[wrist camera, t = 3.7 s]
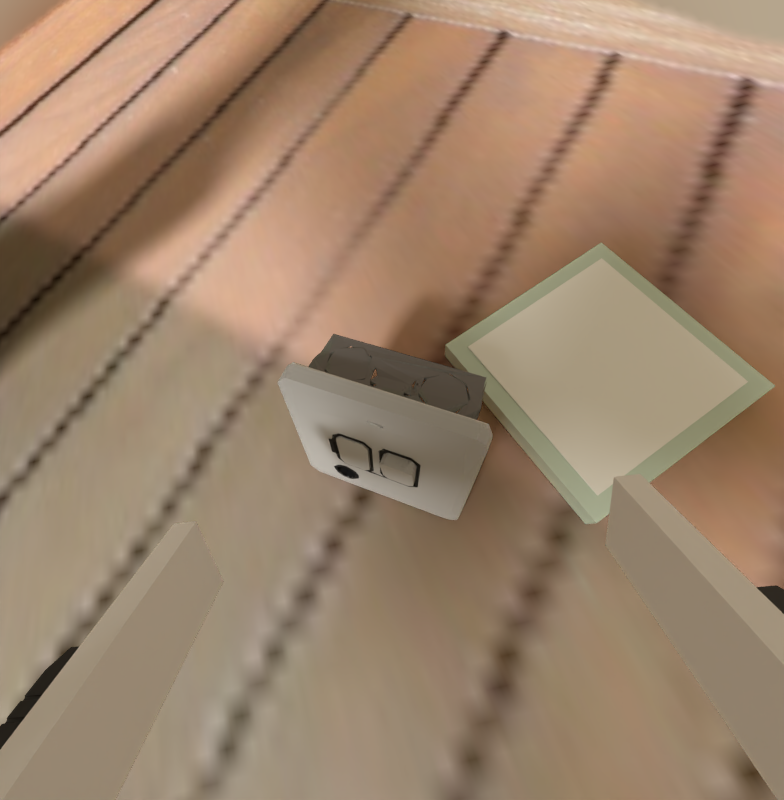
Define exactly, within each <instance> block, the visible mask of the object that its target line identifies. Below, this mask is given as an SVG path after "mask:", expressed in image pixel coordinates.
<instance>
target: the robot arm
mask: <svg viewBox="0 0 784 800" xmlns="http://www.w3.org/2000/svg"><path fill="white" fill-rule="evenodd" d="M605 545H606V547H607V548H608V550H609V551H610V553H611V554H612V556H613V557H614V559H615V560H616V562H617V563H618V565H619V566H620V568H621V569H622V571H623V572H624V574H625V575H626V577H627V578H628V580H629V581H630V582H631V584H632V585H633V587H634V588H635V590H636V591H637V593H638V594H639V596H640V597H641V599H642V600H643V602H644V603H645V605H646V606H647V608H648V609H649V611H650V612H651V614H652V615H653V617H654V618H655V619H656V621H657V622H658V624H659V625H660V627H661V628H662V630H663V631H664V633H665V634H666V636H667V637H668V639H669V640H670V642H671V643H672V645H673V646H674V648H675V649H676V651H677V652H678V654H679V655H680V656H681V658H682V659H683V661H684V662H685V664H686V665H687V667H688V668H689V670H690V671H691V673H692V674H693V676H694V677H695V679H696V680H697V682H698V683H699V685H700V686H701V688H702V689H703V691H704V692H705V693H706V695H707V696H708V698H709V699H710V701H711V702H712V704H713V705H714V707H715V708H716V710H717V711H718V713H719V714H720V716H721V717H722V719H723V720H724V722H725V723H726V725H727V726H728V728H729V729H730V730H731V732H732V733H733V735H734V736H735V738H736V739H737V741H738V742H739V744H740V745H741V747H742V748H743V750H744V751H745V753H746V754H747V756H748V757H749V759H750V760H751V762H752V763H753V765H754V766H755V767H756V769H757V770H758V772H759V773H760V775H761V776H762V778H763V779H764V781H765V782H766V784H767V785H768V787H769V788H770V790H771V791H772V793H773V794H774V796H775V797H776V799H777V800H784V590H783V589H782V588H780V587H778V586H766V587H755V586H754V585H753V584H752V583H751V582H750V581H749V580H748V579H747V578H746V577H745V576H744V575H743V574H742V573H741V572H740V571H739V570H738V569H737V568H736V567H735V566H734V565H733V564H732V563H731V562H730V561H729V560H728V559H727V558H726V557H725V556H724V555H723V554H722V553H721V552H720V551H719V550H718V549H717V548H716V547H714V546H713V545H712V544H711V543H710V542H709V541H708V540H707V539H706V538H705V537H704V536H703V535H702V534H701V533H700V532H699V531H698V530H697V529H696V528H695V527H694V526H693V525H692V524H691V523H690V522H689V521H688V520H687V519H686V518H685V517H684V516H683V515H682V514H681V513H680V512H679V511H678V510H677V509H676V508H675V507H674V506H673V505H672V504H671V503H669V502H668V501H667V500H666V499H665V498H664V497H663V496H662V495H661V494H660V493H659V492H658V491H657V490H656V489H655V488H654V487H653V486H652V485H651V484H650V483H649V482H648V481H647V480H646V479H645V478H644V477H643V476H642V475H641V474H635V475H626V476H616V477H614V480H613V488H612V496H611V504H610V512H609V520H608V528H607V536H606V544H605ZM223 582H224V581H223V579H222V577H221V575H220V572H219V570H218V568H217V566H216V564H215V561H214V559H213V557H212V555H211V553H210V550H209V548H208V546H207V544H206V542H205V539H204V537H203V535H202V533H201V531H200V528H199V526H198V524H197V522H196V521H193V522H184V523H174V524H173V525H172V526H171V528H170V529H169V530H168V532H167V533H166V534H165V536H164V537H163V538H162V539H161V541H160V542H159V543H158V545H157V546H156V547H155V549H154V550H153V551H152V552H151V554H150V555H149V556H148V558H147V559H146V560H145V562H144V563H143V564H142V565H141V567H140V568H139V569H138V571H137V572H136V573H135V575H134V576H133V577H132V579H131V580H130V581H129V582H128V584H127V585H126V586H125V588H124V589H123V590H122V592H121V593H120V594H119V595H118V597H117V598H116V599H115V601H114V602H113V603H112V605H111V606H110V607H109V609H108V610H107V611H106V612H105V614H104V615H103V616H102V618H101V619H100V620H99V622H98V623H97V624H96V625H95V627H94V628H93V629H92V631H91V632H90V633H89V635H88V636H87V637H86V638H85V640H84V641H83V642H82V644H81V645H80V646H79V647H71V648H70V649H68V650H67V651H66V652H65V653H64V654H63V655H62V656H61V657H60V658H58V659H57V660H56V661H55V662H54V663H53V664H52V665H51V666H49V667H48V668H47V669H46V670H45V671H44V673H43V674H42V675H41V676H40V678H39V679H38V680H37V681H36V683H35V684H34V685H33V686H32V688H31V689H30V690H29V691H28V692H27V694H26V695H25V699H24V700H23V701H20V702H19V704H18V705H17V706H16V707H15V709H14V710H13V711H12V712H11V714H10V715H9V716H8V717H7V721H6V723H5V724H2V725H1V726H0V800H116V798H117V796H118V794H119V792H120V790H121V788H122V786H123V784H124V782H125V780H126V778H127V776H128V774H129V772H130V770H131V768H132V766H133V764H134V762H135V759H136V757H137V755H138V753H139V751H140V749H141V747H142V745H143V743H144V741H145V739H146V737H147V735H148V733H149V731H150V729H151V727H152V725H153V723H154V721H155V719H156V717H157V715H158V713H159V711H160V709H161V707H162V705H163V703H164V701H165V699H166V697H167V695H168V693H169V691H170V689H171V687H172V685H173V683H174V681H175V679H176V677H177V675H178V673H179V671H180V669H181V667H182V665H183V663H184V661H185V659H186V656H187V654H188V652H189V650H190V648H191V646H192V644H193V642H194V640H195V638H196V636H197V634H198V632H199V630H200V628H201V626H202V624H203V622H204V620H205V618H206V616H207V614H208V612H209V610H210V608H211V606H212V604H213V602H214V600H215V598H216V596H217V594H218V592H219V590H220V588H221V586H222V584H223Z"/></svg>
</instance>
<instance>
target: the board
mask: <svg viewBox="0 0 784 800" xmlns="http://www.w3.org/2000/svg"><path fill="white" fill-rule="evenodd" d="M445 357H446V358H447V359H448V360H449V361H450V363H451V364H452V365H453V366H454V367H455V369H459V370H462V371H466V372H469V373H473V374H476V375H480V376H483V377H486V381H485V384H486V387H485V385H484V387H485V391H484V395H483V399H482V401H483V402H484V403H485V404H486V406H487V407H488V408H489V409H490V410H491V412H492V413H493V414H494V415H495V416H496V418H497V419H498V420H499V421H500V422H501V424H502V425H503V426H504V427H505V428H506V430H507V431H508V432H509V433H510V434H511V436H512V437H513V438H514V439H515V440H516V442H517V443H518V444H519V445H520V446H521V448H522V449H523V450H524V451H525V452H526V454H527V455H528V456H529V457H530V458H531V460H532V461H533V462H534V463H535V464H536V466H537V467H538V468H539V469H540V470H541V472H542V473H543V474H544V475H545V476H546V478H547V479H548V480H549V481H550V482H551V484H552V485H553V486H554V487H555V488H556V489H557V491H558V492H559V493H560V494H561V495H562V497H563V498H564V499H565V500H566V501H567V503H568V504H569V505H570V506H571V507H572V509H573V510H574V511H575V512H576V513H577V515H578V516H579V517H580V518H581V519H582V521H583V522H584V523H585V524H594V523H598V522H599V521H600V520H602V519H603V518H604V517H606V516H607V515H608V514H609V512H610V504H611V496H612V488H613V480H614V477H616V476H626V475H635V474H641V475H642V476H643V477H644V478H645V479H646V480H647V481H648V482H649V483H650V482H651V481H652V480H654V479H655V478H656V477H658V476H659V475H660V474H662V473H663V472H664V471H666V470H667V469H668V468H669V467H671V466H672V465H673V464H675V463H676V462H677V461H679V460H680V459H681V458H682V457H684V456H685V455H686V454H688V453H689V452H690V451H692V450H693V449H694V448H696V447H697V446H698V445H699V444H701V443H702V442H703V441H705V440H706V439H707V438H709V437H710V436H711V435H712V434H714V433H715V432H716V431H718V430H719V429H720V428H722V427H723V426H724V425H725V424H727V423H728V422H729V421H731V420H732V419H733V418H735V417H736V416H737V415H739V414H740V413H741V412H742V411H744V410H745V409H746V408H748V407H749V406H750V405H752V404H753V403H754V402H755V401H757V400H758V399H759V398H761V397H762V396H763V395H765V394H766V393H767V392H768V391H770V390H771V389H772V388H774V387H775V385H774V384H773V383H771V382H770V381H769V380H768V379H766V378H765V377H764V376H763V375H762V374H760V373H759V372H758V371H757V370H756V369H754V368H753V367H752V366H751V365H749V364H748V363H747V362H746V361H745V360H743V359H742V358H741V357H740V356H739V355H737V354H736V353H735V352H734V351H732V350H731V349H730V348H729V347H728V346H726V345H725V344H724V343H723V342H722V341H720V340H719V339H718V338H717V337H715V336H714V335H713V334H712V333H711V332H709V331H708V330H707V329H706V328H705V327H703V326H702V325H701V324H700V323H698V322H697V321H696V320H695V319H694V318H692V317H691V316H690V315H689V314H688V313H686V312H685V311H684V310H683V309H682V308H680V307H679V306H678V305H677V304H675V303H674V302H673V301H672V300H671V299H669V298H668V297H667V296H666V295H665V294H663V293H662V292H661V291H660V290H658V289H657V288H656V287H655V286H654V285H652V284H651V283H650V282H649V281H648V280H646V279H645V278H644V277H643V276H641V275H640V274H639V273H638V272H637V271H635V270H634V269H633V268H632V267H631V266H629V265H628V264H627V263H626V262H624V261H623V260H622V259H621V258H620V257H618V256H617V255H616V254H615V253H614V252H612V251H611V250H610V249H609V248H607V247H606V246H605V245H604V244H603V243H600V244H598V245H597V246H595V247H594V248H592V249H591V250H589V251H587V252H586V253H584V254H583V255H581V256H580V257H578V258H577V259H575V260H574V261H572V262H571V263H569V264H568V265H566V266H565V267H563V268H562V269H560V270H558V271H557V272H555V273H554V274H552V275H551V276H549V277H548V278H546V279H545V280H543V281H542V282H540V283H539V284H537V285H536V286H534V287H533V288H531V289H529V290H528V291H526V292H525V293H523V294H522V295H520V296H519V297H517V298H516V299H514V300H513V301H511V302H510V303H508V304H507V305H505V306H504V307H502V308H501V309H499V310H497V311H496V312H494V313H493V314H491V315H490V316H488V317H487V318H485V319H484V320H482V321H481V322H479V323H478V324H476V325H475V326H473V327H472V328H470V329H468V330H467V331H465V332H464V333H462V334H461V335H459V336H458V337H456V338H455V339H453V340H452V341H450V342H449V343H447V344H446V345H445ZM486 382H487V383H486ZM483 389H484V388H483Z"/></svg>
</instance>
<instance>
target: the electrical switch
mask: <svg viewBox="0 0 784 800" xmlns="http://www.w3.org/2000/svg"><path fill="white" fill-rule="evenodd" d="M350 346H352V347H351V348H348V347H350ZM369 355H370V356H369ZM375 369H376V371H377V376H376V377H374V378H373V379H372V380H371V377H372V375H373V373H374V370H375ZM449 374H451V375H452V376H451V375H449ZM423 380H425V382H424V383H423ZM415 381H416V382H415ZM485 381H486V377H483V376H480V375H476V374H473V373H469V372H466V371H462V370H459V369H455V368H451V367H448V366H444V365H441V364H437V363H434V362H430V361H427V360H423V359H420V358H416V357H413V356H409V355H406V354H402V353H399V352H395V351H392V350H388V349H385V348H381V347H378V346H374V345H371V344H367V343H364V342H360V341H357V340H353V339H350V338H346V337H343V336H339V335H336V334H333V335H332V337H331V338H330V340H329V341H328V343H327V344H326V346H325V347H324V349H323V350H322V352H321V353H320V354H318V355H317V356H316V357H315V358H314V359H313V361H312V362H311V364H310V365H309V367H307V366H304V365H301V364H297V363H294V362H293V363H291V364H290V365H288V366H287V367H286V369H285V370H284V372H283V374H282V376H281V377H280V379H279V381H278V385H279V387H280V390H281V392H282V395H283V397H284V400H285V402H286V405H287V407H288V410H289V412H290V414H291V417H292V419H293V422H294V424H295V427H296V429H297V432H298V434H299V437H300V439H301V442H302V444H303V447H304V449H305V452H306V454H307V457H308V459H309V462H310V464H311V465H312V466H313V467H314V468H316V469H317V470H318V471H320V472H323V473H325V474H328V475H330V476H333V477H336V478H338V479H341V480H344V481H346V482H349V483H352V484H354V485H357V486H360V487H362V488H365V489H368V490H370V491H373V492H376V493H378V494H381V495H384V496H386V497H389V498H392V499H394V500H397V501H400V502H402V503H405V504H408V505H410V506H413V507H416V508H418V509H421V510H424V511H426V512H429V513H432V514H434V515H437V516H440V517H442V518H445V519H449V520H457V519H458V518H459V516H460V514H461V512H462V510H463V507H464V505H465V503H466V500H467V498H468V496H469V493H470V491H471V489H472V486H473V484H474V482H475V480H476V477H477V475H478V473H479V470H480V468H481V466H482V463H483V461H484V459H485V456H486V454H487V452H488V449H489V446H490V443H491V441H492V438H493V434H492V431H491V429H490V426H489V424H488V423H485V422H481V421H478V420H477V419H478V416H479V413H480V410H481V405H482V399H483V395H484V391H485V387H486V384H485ZM414 382H415V385H414V389H413V387H412V386H411V385H412V384H413V383H414ZM422 383H423V384H422ZM486 383H487V382H486ZM373 384H377V385H375V386H373ZM484 385H485V387H484ZM467 388H468V391H467ZM483 388H484V389H483ZM407 395H410V396H407ZM420 396H421V398H422V399H423V401H424V402H425V404H424V403H423V402H422V400H421V399H420ZM458 410H459V411H458ZM457 411H458V413H455V412H457Z"/></svg>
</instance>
